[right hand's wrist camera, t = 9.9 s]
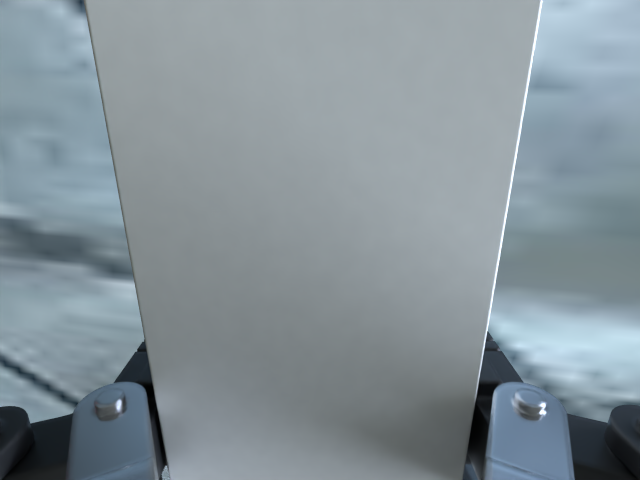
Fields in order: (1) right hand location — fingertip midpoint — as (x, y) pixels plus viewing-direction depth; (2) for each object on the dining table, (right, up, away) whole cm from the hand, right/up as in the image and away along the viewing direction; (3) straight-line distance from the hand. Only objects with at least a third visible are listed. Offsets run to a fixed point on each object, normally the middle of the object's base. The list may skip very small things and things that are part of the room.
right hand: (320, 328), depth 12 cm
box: (0, +11, +5) cm, 12 cm away
